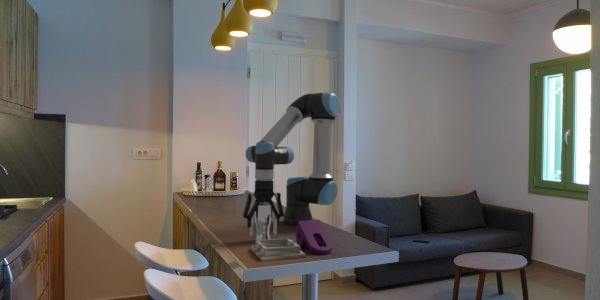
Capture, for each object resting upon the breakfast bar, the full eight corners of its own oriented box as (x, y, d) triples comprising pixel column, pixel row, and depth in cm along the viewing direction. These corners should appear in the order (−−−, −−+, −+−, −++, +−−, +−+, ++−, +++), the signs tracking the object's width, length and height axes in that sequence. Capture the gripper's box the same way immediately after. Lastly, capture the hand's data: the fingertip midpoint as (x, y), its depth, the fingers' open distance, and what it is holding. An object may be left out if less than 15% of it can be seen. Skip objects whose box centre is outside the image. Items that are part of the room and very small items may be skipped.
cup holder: (250, 249, 153) (250, 239, 153) (290, 245, 159) (290, 237, 158) (261, 260, 138) (262, 250, 138) (305, 257, 144) (305, 247, 144)
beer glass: (251, 240, 166) (251, 203, 166) (265, 237, 171) (265, 202, 171) (260, 243, 161) (261, 206, 161) (275, 241, 166) (275, 204, 165)
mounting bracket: (332, 267, 152) (316, 236, 167) (337, 249, 149) (320, 219, 164) (308, 269, 149) (294, 238, 164) (313, 251, 145) (298, 220, 161)
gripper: (239, 181, 158) (238, 238, 158) (292, 180, 166) (291, 234, 166) (235, 179, 165) (234, 234, 165) (286, 178, 173) (285, 231, 173)
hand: (263, 234), depth 166 cm, fingers open, 9 cm apart
